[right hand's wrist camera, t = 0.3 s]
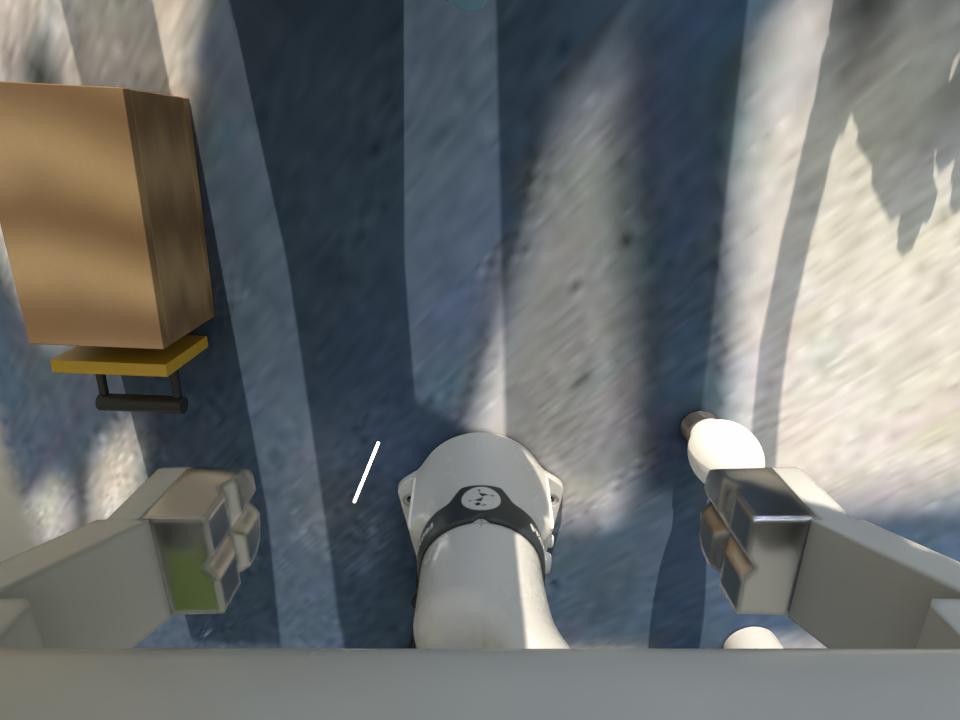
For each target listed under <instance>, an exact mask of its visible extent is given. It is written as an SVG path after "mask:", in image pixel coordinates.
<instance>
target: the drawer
mask: <svg viewBox="0 0 960 720" xmlns="http://www.w3.org/2000/svg"><path fill="white" fill-rule="evenodd" d="M207 347H208V341H207V336H195V335H185V336H183V337H182V338H180V339H179V340H177V341H175V342H174V343H172V344H171V345H169V346H168V347H166V348H165V349H143V348H120V347H96V346H77V347H75V348H73V349H71V350H69V351H67V352H65V353H63V354H61V355H59V356H57V357H55V358H53V359H51V360H50V363H51V367H52V372H60V373H84V374H96V379H97V384H98V389H99V395H98V396H97V398H96V407H97V409H98V410H105V411H130V412H154V413H179V414H184V413H185V412H186V411H187V408H188V400H187V398H186V397H183V396H182V392H181V385H180V378H179V372H178V369H179V368H180V367H182V366H183V365H184V364H186V363H187V362H188V361H190V360H191V359H192V358H194V357H195V356H196V355H198V354H199V353H200V352H202V351H203V350H205V349H206V348H207ZM105 374H108V375H132V376H156V377H168V376H170V379H171V385H172V392H173V396H159V395H135V394H111V393H109V390H108V385H107V380H106V375H105Z"/></svg>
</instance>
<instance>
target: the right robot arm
mask: <svg viewBox="0 0 960 720" xmlns="http://www.w3.org/2000/svg"><path fill="white" fill-rule="evenodd" d="M379 444H380V442H378V441H377V443H376V446H375V448H374V451H373V453H372V455H371V458H370V460H369V463H368V465H367V468H366V470H365V473H364V475H363V478H362V480H361V483H360V485H359V487H358V490H357V492H356V495H355V497H354V500H353V503H356V500H357V498H358V496H359V493H360V491H361V488H362V486H363V483H364V481H365V478H366V476H367V474H368V471H369V469H370V466H371V464H372V461H373V459H374V456H375V454H376V452H377V449H378V447H379ZM255 491H256V487H255V482H254V477H253V474H252V472H251V471H250V470H249V469H247V468H196V467H194V468H191V467H166V468H160V469H158V470H157V471H156V472H155V473H154V474H153V475H152V476H151V477H150V478H149V479H148V480H146V481H145V482H144V483H143V484H142V485H141V486H140V487H139V488H138V489H137V490H136V491H135V492H134V493H133V494H132V495H131V496H130V497H129V498H128V499H127V500H126V501H125V502H124V503H123V504H122V505H121V506H120V507H119V508H118V509H117V510H116V511H115V512H114V513H113V514H112V515H111V516H110V517H109V518H108V519H107V520H96V521H93V522H91V523H89V524H86V525H84V526H82V527H80V528H77V529H75V530H73V531H70V532H68V533H66V534H64V535H61V536H59V537H57V538H54V539H52V540H50V541H48V542H45V543H43V544H41V545H38V546H36V547H34V548H32V549H29V550H27V551H25V552H22V553H20V554H18V555H16V556H13V557H11V558H9V559H6V560H4V561H2V562H0V720H960V562H958V561H956V560H953V559H951V558H949V557H946V556H944V555H942V554H940V553H937V552H935V551H933V550H931V549H928V548H926V547H924V546H921V545H919V544H917V543H915V542H912V541H910V540H908V539H905V538H903V537H901V536H899V535H896V534H894V533H892V532H890V531H887V530H885V529H883V528H880V527H878V526H876V525H874V524H871V523H869V522H867V521H864V520H853V519H852V518H851V517H850V516H849V515H848V514H847V513H846V512H845V511H844V510H843V509H842V508H841V507H840V506H839V505H838V504H837V503H836V502H835V501H834V500H833V499H832V498H831V497H830V496H829V495H828V494H827V493H826V492H825V491H824V490H823V489H822V488H821V487H820V486H819V485H818V484H817V483H816V482H815V481H814V480H813V479H812V478H811V477H810V476H809V475H808V474H807V473H806V472H805V471H804V470H803V469H800V468H797V467H777V468H739V469H712V470H709V472H708V475H707V477H706V481H705V487H704V491H705V493H706V494H707V496H708V497H709V499H710V502H709V503H708V504H707V505H706V507H705V508H704V509H703V510H702V511H701V512H700V520H699V538H700V545H701V548H702V552H703V555H704V557H705V559H706V561H707V563H708V564H709V566H711V567H712V568H714V569H715V570H717V571H718V572H720V573H721V576H720V582H719V585H720V586H721V588H722V590H723V592H724V593H725V595H726V597H727V599H728V601H729V602H730V604H731V606H732V608H733V610H734V611H735V613H740V614H777V615H789V616H788V617H789V618H790V619H791V620H793V621H794V622H795V623H796V624H798V625H799V626H800V627H801V628H803V629H804V630H805V631H807V632H808V633H809V634H810V635H812V636H813V637H814V638H816V639H817V640H818V641H819V642H821V643H822V644H823V645H825V646H826V647H827V648H828V649H571V648H570V647H569V645H568V644H567V643H566V642H565V641H564V639H563V638H562V636H561V635H560V633H559V632H558V630H557V628H556V626H555V624H554V622H553V619H552V616H551V612H550V609H549V605H548V601H547V597H546V593H545V588H544V583H543V581H544V577H545V574H549V572H550V568H551V554H550V553H549V552H547V548H552V547H553V544H554V536H553V535H552V531H553V529H554V524H555V521H556V517H557V514H558V510H559V507H560V504H561V500H562V497H563V493H564V488H563V483H562V482H561V480H560V479H558V478H557V477H555V476H554V475H552V474H551V473H549V472H547V471H545V470H544V469H543V468H542V467H541V466H540V465H539V463H538V462H537V460H536V459H535V458H534V456H533V455H532V454H531V453H530V452H529V451H528V450H527V449H526V448H525V447H524V446H522V445H521V444H520V443H518V442H516V441H515V440H513V439H510V438H508V437H506V436H503V435H499V434H495V433H488V432H474V433H467V434H463V435H459V436H456V437H453V438H451V439H449V440H447V441H445V442H444V443H442V444H441V445H439V446H438V447H437V448H436V449H434V450H433V451H432V452H431V453H430V455H429V456H428V457H427V459H426V460H425V461H424V463H423V464H422V465H421V467H420V468H419V469H418V470H416V471H415V472H413V473H411V474H409V475H408V476H406V477H405V478H403V479H402V480H401V481H400V482H399V485H398V495H399V498H400V502H401V505H402V509H403V512H404V515H405V519H406V522H407V526H408V529H409V533H410V536H411V540H412V543H413V547H414V550H415V554H416V557H417V560H416V561H417V579H416V586H417V589H418V593H417V594H416V595H415V596H414V598H413V600H412V606H413V607H414V608H415V616H414V623H413V633H414V637H413V640H412V642H411V645H410V647H409V649H155V648H133V647H134V646H136V645H137V644H138V643H139V642H141V641H142V640H143V639H145V638H146V637H147V636H148V635H150V634H151V633H152V632H154V631H155V630H156V629H157V628H159V627H160V626H161V625H163V624H164V623H165V622H166V621H168V620H169V619H170V618H171V617H172V616H171V615H183V614H218V613H225V611H226V610H227V608H228V606H229V604H230V602H231V601H232V599H233V597H234V595H235V593H236V592H237V590H238V588H239V586H240V585H241V582H240V576H239V573H240V572H242V571H243V570H245V569H246V568H248V567H249V566H251V564H252V562H253V561H254V559H255V557H256V555H257V552H258V548H259V544H260V539H261V519H260V512H259V511H258V510H257V509H256V508H255V507H254V505H253V504H252V503H251V502H250V499H251V497H252V496H253V494H254V493H255ZM409 496H411V499H409V498H408V497H409ZM551 496H553V498H552V499H551ZM416 647H417V649H415V648H416Z"/></svg>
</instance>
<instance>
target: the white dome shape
mask: <svg viewBox="0 0 960 720" xmlns="http://www.w3.org/2000/svg"><path fill="white" fill-rule="evenodd" d="M723 649H784V648H783V647H782V645H781V644H780V642H779V641H778V640H777V638H776V637H775V635H774V634H773V633H772V632H771V631H769V630H768V629H765V628H762V627H748V628H744V629H741V630H738V631H737V632H735V633H733V634H732V635H731V636H730V637H729V638H728V639H727V640H726V642H725V644H724V646H723Z"/></svg>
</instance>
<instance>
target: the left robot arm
mask: <svg viewBox="0 0 960 720" xmlns="http://www.w3.org/2000/svg"><path fill="white" fill-rule="evenodd" d="M447 1H448V2H450V3H452V4H453V5H455V6H456V7H458V8H460V9H462V10H465V11H474V10H477V9H479V8H481V7H482V6H484V5H485V4H486V3H487V1H488V0H447Z"/></svg>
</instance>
